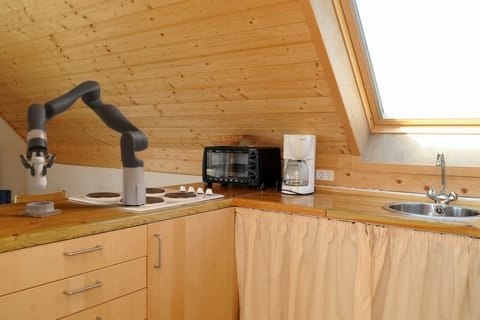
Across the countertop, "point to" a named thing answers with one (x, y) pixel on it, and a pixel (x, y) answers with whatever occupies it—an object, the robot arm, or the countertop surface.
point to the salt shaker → (38, 174)
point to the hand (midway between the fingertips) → (38, 175)
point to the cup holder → (40, 209)
